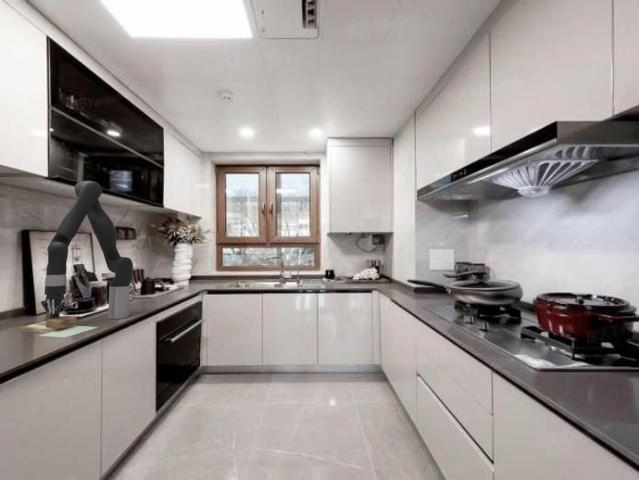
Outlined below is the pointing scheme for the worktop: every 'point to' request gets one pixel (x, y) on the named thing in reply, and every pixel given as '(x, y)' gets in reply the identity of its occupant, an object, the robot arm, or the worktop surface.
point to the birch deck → (40, 328)
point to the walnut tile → (61, 322)
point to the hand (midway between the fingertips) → (53, 321)
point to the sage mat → (68, 331)
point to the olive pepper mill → (49, 316)
